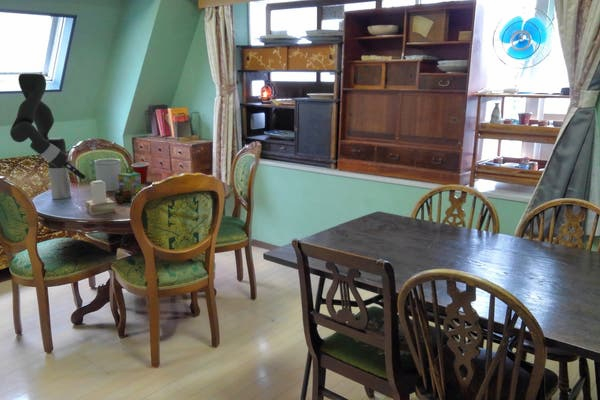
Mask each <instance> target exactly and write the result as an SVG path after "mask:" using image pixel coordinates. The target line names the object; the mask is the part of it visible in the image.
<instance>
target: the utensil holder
mask: <svg viewBox="0 0 600 400" xmlns="http://www.w3.org/2000/svg"><path fill="white" fill-rule="evenodd" d="M121 162H122V160H121V159H120V158H110V157H108V158H100V159H95V160H94V168H95V176H96V181H98V180H102V181H103V182H104V183H105V188H106V192H114V190H117V189H119V182H118V174H122V167H121V165H122V163H121Z"/></svg>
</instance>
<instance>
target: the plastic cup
mask: <svg viewBox="0 0 600 400" xmlns="http://www.w3.org/2000/svg"><path fill="white" fill-rule="evenodd" d="M149 165H150V164H149V162H147V161H146V162H135V163H132V164H131V168H133V172H135V173H140V175H141V182H145V183H147V180H148V179H147V178H148V170H149Z"/></svg>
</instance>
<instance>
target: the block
mask: <svg viewBox="0 0 600 400" xmlns="http://www.w3.org/2000/svg"><path fill="white" fill-rule="evenodd" d="M106 198H107V202H101V203H94V202H93V201H92V199H89V200H85V208H86V211H87V212H88V213H89V214H90V215H91V216H95V215H102V214H108V213H115V212H116V207H115V206H116V205H115V201H113V200H112V199H111V198H109V197H106Z"/></svg>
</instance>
